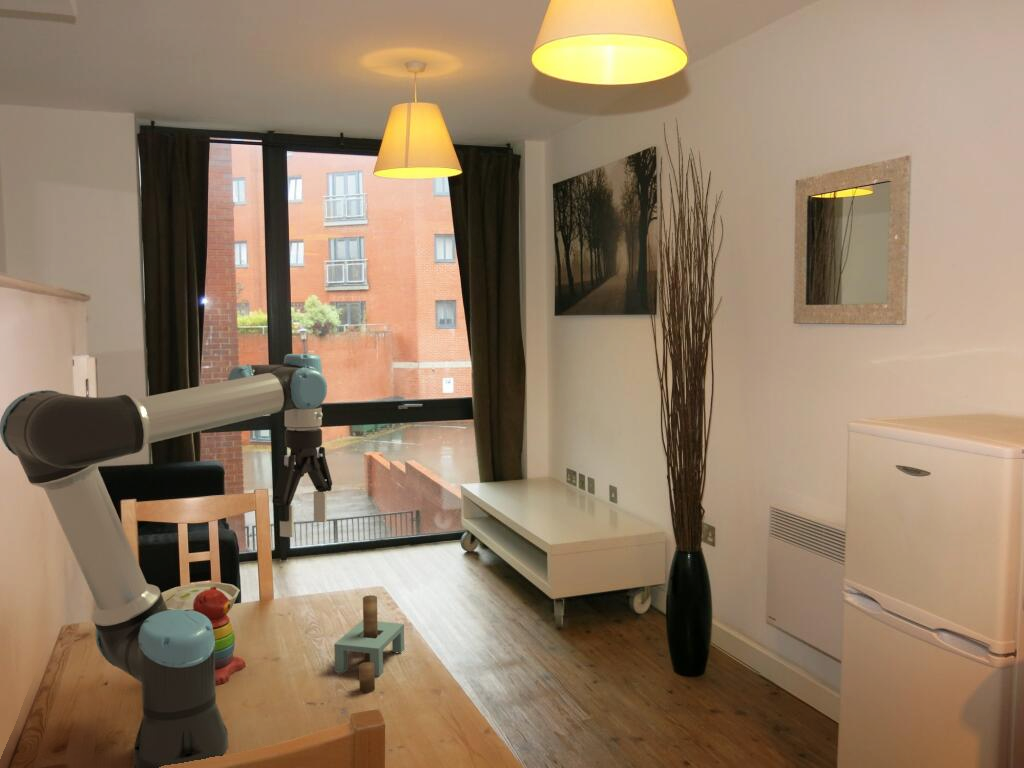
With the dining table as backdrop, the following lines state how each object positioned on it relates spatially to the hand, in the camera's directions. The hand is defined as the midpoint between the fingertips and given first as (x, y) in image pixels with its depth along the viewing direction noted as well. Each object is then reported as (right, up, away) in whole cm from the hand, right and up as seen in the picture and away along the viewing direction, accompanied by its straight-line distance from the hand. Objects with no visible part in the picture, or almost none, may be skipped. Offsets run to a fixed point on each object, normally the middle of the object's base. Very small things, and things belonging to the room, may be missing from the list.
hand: (304, 528), depth 176 cm
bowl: (-30, -28, +22) cm, 47 cm away
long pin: (+13, -30, +6) cm, 33 cm away
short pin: (+15, -31, -8) cm, 35 cm away
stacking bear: (-19, -30, 0) cm, 36 cm away
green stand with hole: (+13, -30, +6) cm, 33 cm away
